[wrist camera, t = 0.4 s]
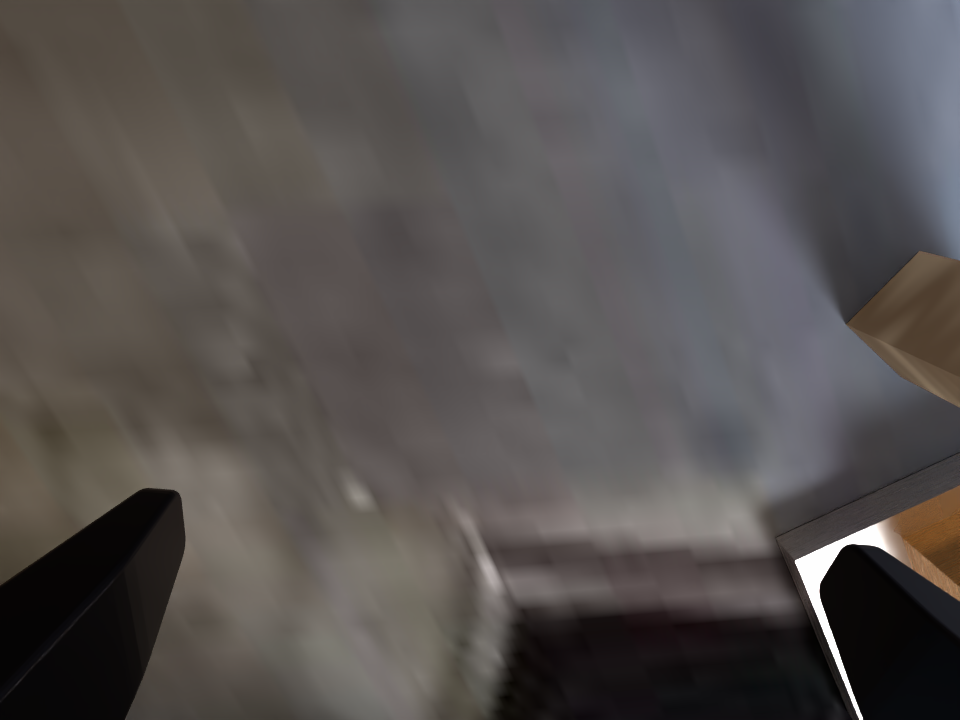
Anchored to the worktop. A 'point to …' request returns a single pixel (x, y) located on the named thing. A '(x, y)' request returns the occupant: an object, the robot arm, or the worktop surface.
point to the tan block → (918, 324)
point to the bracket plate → (881, 544)
